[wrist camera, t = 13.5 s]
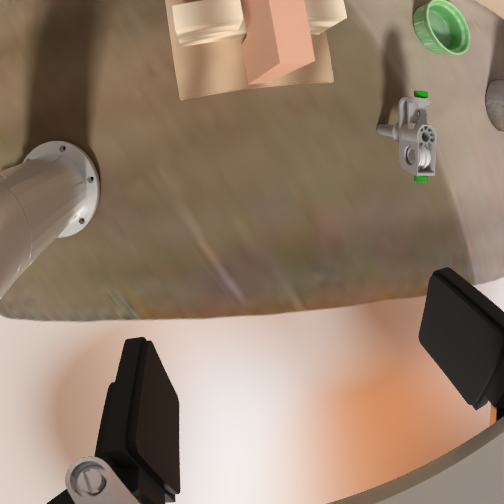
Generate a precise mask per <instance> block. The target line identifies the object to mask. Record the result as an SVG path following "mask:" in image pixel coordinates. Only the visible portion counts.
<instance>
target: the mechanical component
mask: <svg viewBox="0 0 504 504" xmlns="http://www.w3.org/2000/svg"><path fill="white" fill-rule="evenodd" d="M415 97H417V98H415ZM425 98H428V92H425V91H414V97H403V98H401V99H400V101H399V105H398V108H399V122H397V123H396V124H395V125H388V124H385V125H384V124H379V125H378V126H377V132H378V133H379V134H381V135H385V136H391V137H394V139H395V140H396V141H397V142H399V162H400V165H401V167H402V169H403V170H406V171H408V172H409V173H410V174H413V175H414V180H415V181H417V182H427V176H435V156H436V141H437V134H436V131H435V129H434V128H433V127H432V126H431V125H429V124H427V114H426V105H431V99H425ZM418 112H419V116H418ZM429 150H430V151H429ZM430 153H431V155H430ZM430 159H431V160H430Z"/></svg>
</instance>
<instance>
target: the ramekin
mask: <svg viewBox="0 0 504 504" xmlns="http://www.w3.org/2000/svg"><path fill="white" fill-rule="evenodd" d="M413 25H414V29H415V32H416V34H417V36H418V38H419V39H420V41H421V42H422V43H423V44H424V45H425V46H426V47H427V48H428V49H430V50H431V51H433V52H435V53H442V54H454V55H461V54H464V53H465V52H466V51H467V50H468V48H469V45H470V31H469V28H468V25H467V22H466V20H465V18H464V17H463V15H462V14H461V12H460V11H459V10H458V9H457V8H456V7H455V6H454V5H453V4H452V3H450V2H448V1H447V0H431V1H430V2H428V3H427V4H425V5H423V6H421V7H419V8H418V9H417V10H416V11H415V13H414V16H413Z"/></svg>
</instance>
